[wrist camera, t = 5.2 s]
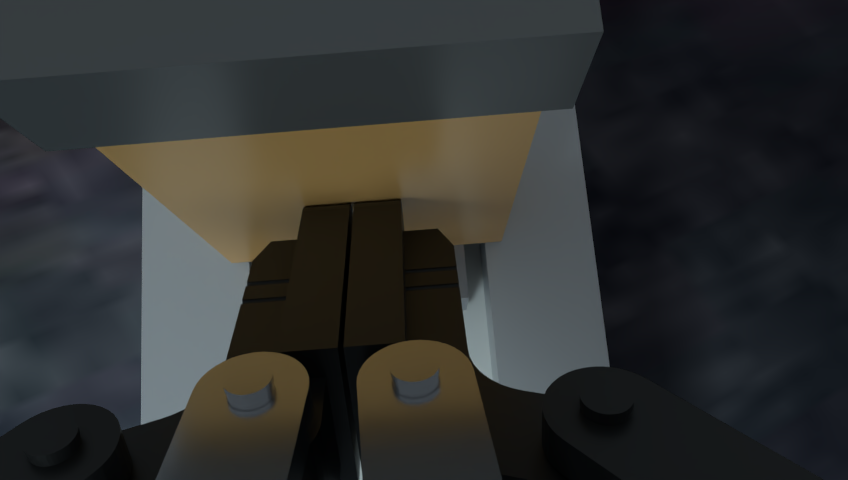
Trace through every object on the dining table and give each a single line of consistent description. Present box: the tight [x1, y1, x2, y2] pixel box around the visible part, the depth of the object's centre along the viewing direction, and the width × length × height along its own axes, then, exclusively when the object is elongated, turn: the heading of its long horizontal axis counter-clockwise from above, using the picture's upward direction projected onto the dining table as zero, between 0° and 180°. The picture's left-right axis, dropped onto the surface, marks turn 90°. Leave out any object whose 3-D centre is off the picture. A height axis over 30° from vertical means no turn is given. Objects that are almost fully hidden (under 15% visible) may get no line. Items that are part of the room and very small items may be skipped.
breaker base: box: [141, 105, 610, 480], centre depth 17 cm, size 20×9×5 cm, turn 4°
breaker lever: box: [0, 0, 604, 310], centre depth 12 cm, size 4×5×10 cm
